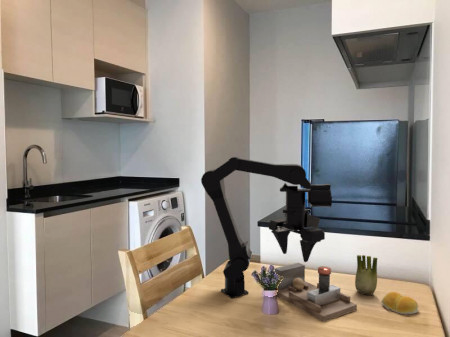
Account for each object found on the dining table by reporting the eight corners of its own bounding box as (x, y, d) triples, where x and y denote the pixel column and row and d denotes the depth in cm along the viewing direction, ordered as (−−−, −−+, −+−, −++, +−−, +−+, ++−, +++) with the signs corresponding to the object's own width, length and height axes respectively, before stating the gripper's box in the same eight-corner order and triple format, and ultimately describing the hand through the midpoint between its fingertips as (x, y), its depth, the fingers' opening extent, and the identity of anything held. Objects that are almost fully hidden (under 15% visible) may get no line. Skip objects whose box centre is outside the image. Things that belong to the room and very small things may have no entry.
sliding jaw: (306, 302, 103) (306, 270, 103) (331, 294, 109) (331, 263, 108) (315, 307, 100) (316, 273, 100) (341, 299, 106) (341, 267, 105)
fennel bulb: (378, 294, 113) (379, 256, 112) (369, 298, 110) (370, 259, 109) (361, 288, 118) (362, 251, 117) (352, 292, 115) (353, 254, 114)
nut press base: (270, 292, 115) (270, 269, 114) (301, 284, 121) (301, 261, 121) (323, 321, 96) (324, 293, 95) (356, 309, 103) (357, 283, 102)
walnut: (290, 288, 114) (290, 277, 114) (298, 286, 116) (298, 275, 116) (298, 292, 111) (298, 281, 111) (306, 290, 113) (307, 278, 112)
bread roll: (410, 318, 98) (411, 304, 98) (378, 307, 105) (378, 293, 104) (423, 309, 103) (423, 295, 103) (391, 298, 110) (392, 285, 110)
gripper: (338, 208, 106) (337, 261, 107) (294, 199, 122) (293, 246, 123) (310, 212, 100) (309, 268, 102) (267, 203, 116) (267, 251, 117)
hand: (295, 257), depth 111 cm, fingers open, 9 cm apart
